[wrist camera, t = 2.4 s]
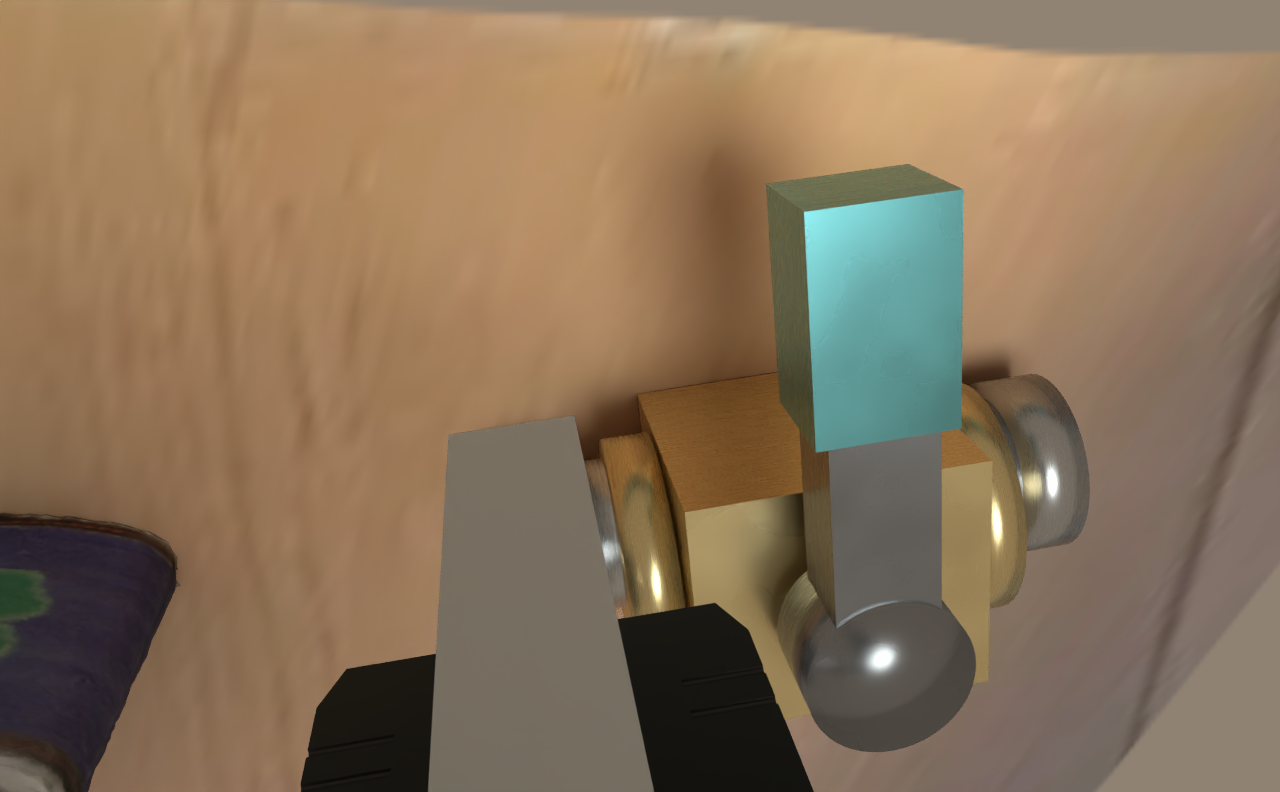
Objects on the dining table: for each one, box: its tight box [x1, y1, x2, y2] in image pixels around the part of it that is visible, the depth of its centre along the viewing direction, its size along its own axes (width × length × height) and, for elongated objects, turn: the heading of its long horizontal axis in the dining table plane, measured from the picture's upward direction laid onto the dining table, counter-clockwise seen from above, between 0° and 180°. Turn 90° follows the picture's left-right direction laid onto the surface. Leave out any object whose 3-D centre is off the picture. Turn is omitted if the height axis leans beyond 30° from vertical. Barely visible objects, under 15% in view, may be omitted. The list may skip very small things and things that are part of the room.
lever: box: [766, 164, 976, 752], centre depth 22 cm, size 12×4×2 cm, turn 6°
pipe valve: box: [584, 372, 1090, 719], centre depth 28 cm, size 15×6×8 cm, turn 96°
